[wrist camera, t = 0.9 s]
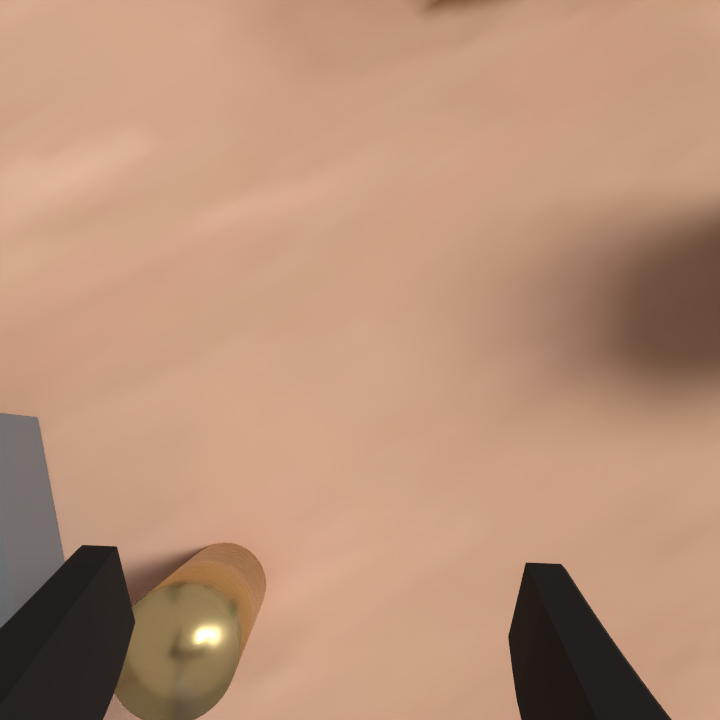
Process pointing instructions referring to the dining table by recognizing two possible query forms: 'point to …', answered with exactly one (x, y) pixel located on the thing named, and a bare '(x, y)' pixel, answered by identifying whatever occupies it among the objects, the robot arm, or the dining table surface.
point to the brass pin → (191, 635)
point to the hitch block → (25, 515)
